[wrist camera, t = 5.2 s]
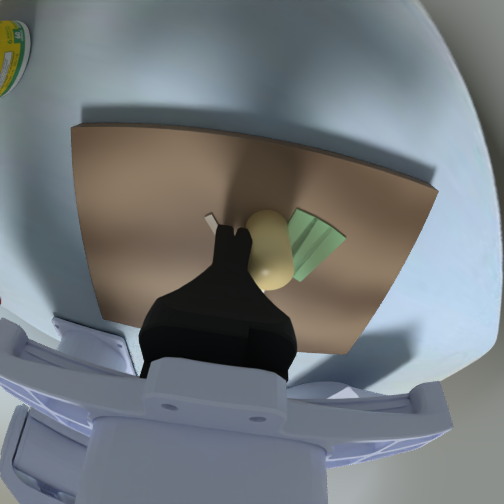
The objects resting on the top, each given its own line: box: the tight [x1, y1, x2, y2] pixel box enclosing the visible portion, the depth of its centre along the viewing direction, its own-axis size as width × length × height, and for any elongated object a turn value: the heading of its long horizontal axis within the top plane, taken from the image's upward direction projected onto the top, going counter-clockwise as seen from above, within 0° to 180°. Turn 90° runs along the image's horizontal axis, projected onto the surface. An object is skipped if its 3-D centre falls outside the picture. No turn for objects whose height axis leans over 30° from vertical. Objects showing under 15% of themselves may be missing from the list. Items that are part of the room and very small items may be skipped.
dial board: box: [71, 123, 439, 354], centre depth 15 cm, size 14×19×1 cm
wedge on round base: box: [287, 381, 388, 399], centre depth 23 cm, size 9×7×13 cm
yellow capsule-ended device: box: [246, 210, 294, 293], centre depth 14 cm, size 10×3×3 cm, turn 167°
